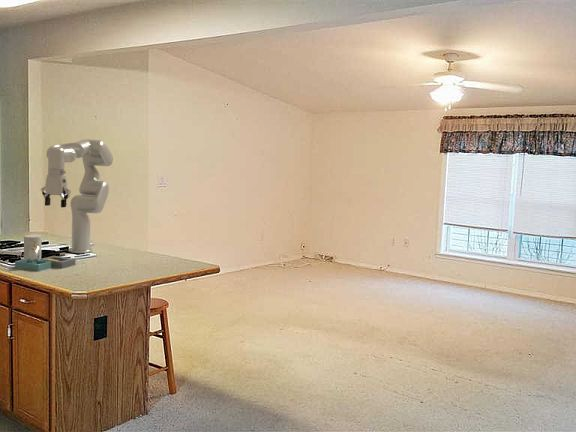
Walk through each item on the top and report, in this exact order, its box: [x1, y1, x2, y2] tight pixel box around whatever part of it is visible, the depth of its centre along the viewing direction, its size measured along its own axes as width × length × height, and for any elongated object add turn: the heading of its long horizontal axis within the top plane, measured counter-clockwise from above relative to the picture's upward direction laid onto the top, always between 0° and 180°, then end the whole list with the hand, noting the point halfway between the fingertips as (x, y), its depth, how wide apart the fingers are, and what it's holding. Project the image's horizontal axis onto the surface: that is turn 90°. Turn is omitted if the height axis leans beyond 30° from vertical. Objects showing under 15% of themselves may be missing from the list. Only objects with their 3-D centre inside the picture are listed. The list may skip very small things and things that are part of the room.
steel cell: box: [29, 248, 38, 264], centre depth 265 cm, size 4×4×9 cm
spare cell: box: [31, 245, 40, 260], centre depth 276 cm, size 4×4×9 cm
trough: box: [14, 258, 52, 272], centre depth 266 cm, size 9×14×3 cm, turn 73°
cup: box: [23, 234, 43, 260], centre depth 284 cm, size 8×8×12 cm
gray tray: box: [40, 255, 77, 269], centre depth 275 cm, size 10×13×3 cm
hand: (55, 206), depth 279 cm, fingers open, 9 cm apart
